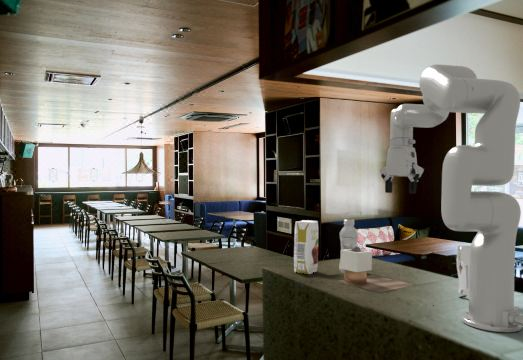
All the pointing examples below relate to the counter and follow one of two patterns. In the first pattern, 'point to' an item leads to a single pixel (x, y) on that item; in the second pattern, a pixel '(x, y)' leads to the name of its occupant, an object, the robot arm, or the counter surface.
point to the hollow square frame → (356, 260)
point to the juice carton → (306, 246)
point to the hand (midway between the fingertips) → (400, 193)
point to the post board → (371, 280)
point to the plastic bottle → (348, 237)
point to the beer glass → (463, 270)
